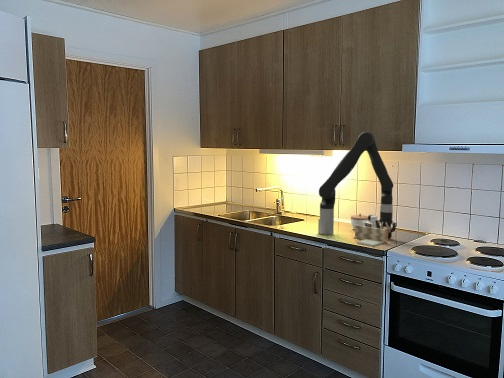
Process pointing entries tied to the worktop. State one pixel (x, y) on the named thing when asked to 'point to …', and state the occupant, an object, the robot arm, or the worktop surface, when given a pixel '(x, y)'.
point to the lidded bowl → (358, 220)
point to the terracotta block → (386, 234)
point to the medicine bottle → (371, 221)
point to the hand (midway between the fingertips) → (385, 237)
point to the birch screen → (369, 233)
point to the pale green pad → (369, 242)
